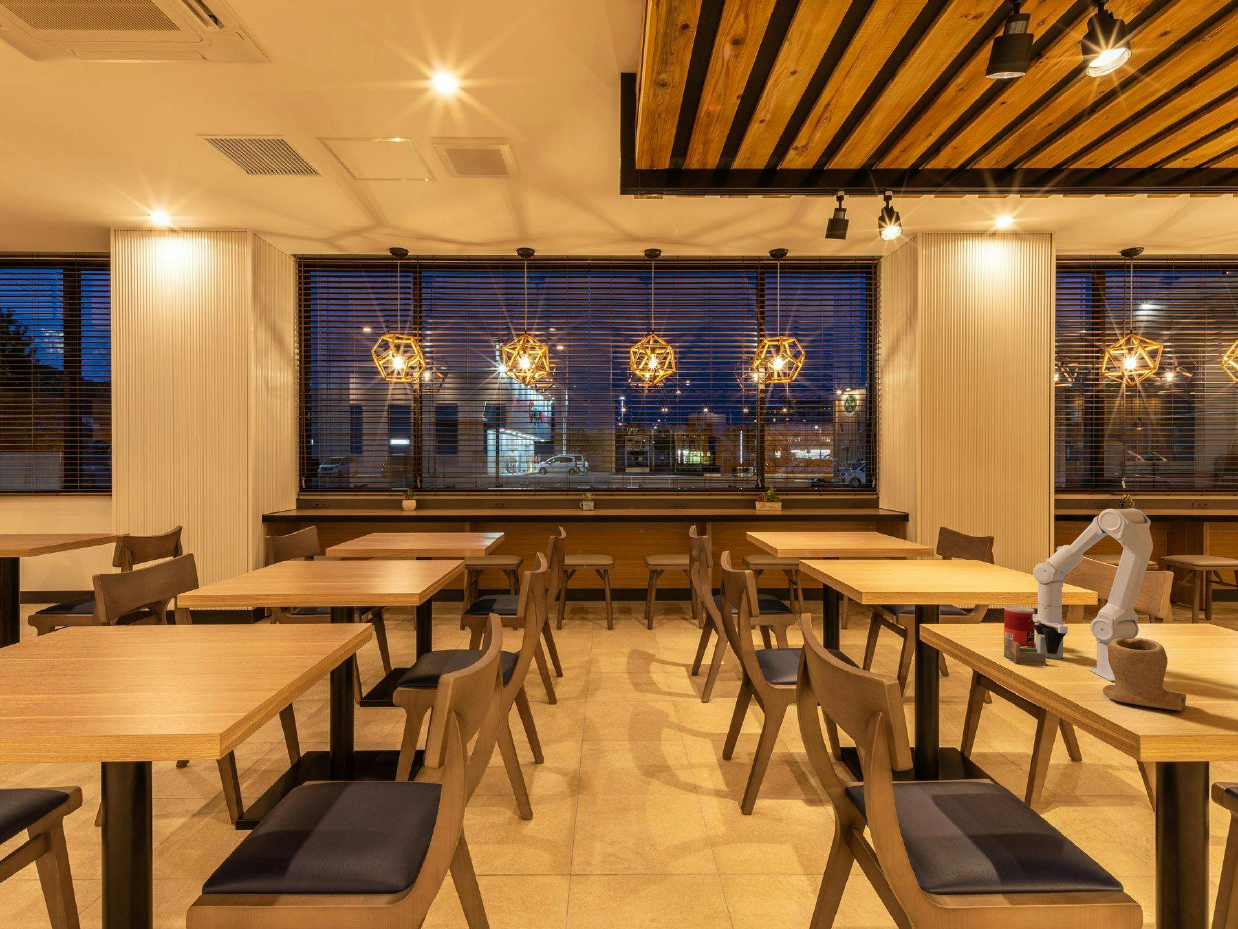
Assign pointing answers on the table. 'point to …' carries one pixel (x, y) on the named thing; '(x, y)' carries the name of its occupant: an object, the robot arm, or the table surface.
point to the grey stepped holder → (1022, 653)
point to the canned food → (1019, 625)
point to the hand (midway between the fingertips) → (1049, 651)
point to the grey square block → (1043, 649)
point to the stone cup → (1140, 674)
